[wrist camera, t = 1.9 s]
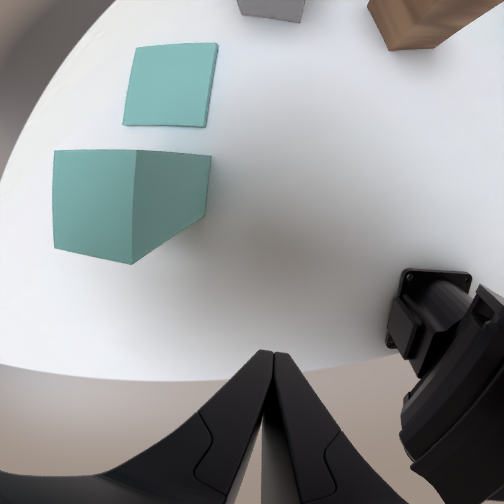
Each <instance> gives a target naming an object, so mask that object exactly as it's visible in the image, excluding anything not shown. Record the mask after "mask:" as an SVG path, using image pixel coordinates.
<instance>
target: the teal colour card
mask: <svg viewBox="0 0 504 504" xmlns="http://www.w3.org/2000/svg"><path fill="white" fill-rule="evenodd" d="M217 51H218V44H217V43H184V44H168V45H157V46H147V47H139V48H136V51H135V55H134V60H133V64H132V69H131V74H130V79H129V85H128V90H127V96H126V102H125V109H124V116H123V123H122V125H126V126H130V125H162V126H192V127H206V120H207V113H208V106H209V99H210V93H211V86H212V80H213V74H214V68H215V62H216V57H217Z"/></svg>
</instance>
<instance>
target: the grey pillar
mask: <svg viewBox="0 0 504 504" xmlns="http://www.w3.org/2000/svg"><path fill="white" fill-rule="evenodd" d="M237 3H238V6H239V8H240V11H241V14H242V15H248V16H257V17H265V18H272V19H278V20H284V21H290V22H295V23H300V20H301V16H302V12H303V7H304V3H305V0H237Z"/></svg>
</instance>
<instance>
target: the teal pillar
mask: <svg viewBox="0 0 504 504" xmlns="http://www.w3.org/2000/svg"><path fill="white" fill-rule="evenodd" d="M210 161H211V156H206V155H196V154H186V153H174V152H161V151H146V150H106V149H101V150H58V151H54V162H53V188H52V210H53V236H54V248H56V249H60V250H65V251H69V252H74V253H78V254H83V255H87V256H92V257H97V258H101V259H106V260H111V261H116V262H121V263H125V264H130V265H132V264H134V263H135V262H137V261H138V260H139V259H141V258H142V257H144V256H145V255H147V254H148V253H150V252H151V251H153V250H154V249H155V248H157V247H158V246H160V245H161V244H163V243H164V242H166V241H167V240H169V239H170V238H172V237H173V236H175V235H176V234H178V233H179V232H181V231H182V230H184V229H185V228H187V227H188V226H190V225H191V224H193V223H195V222H196V221H198V220H199V219H201V218H202V217H204V216H205V208H206V198H207V188H208V179H209V170H210Z"/></svg>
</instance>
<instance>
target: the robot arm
mask: <svg viewBox="0 0 504 504" xmlns="http://www.w3.org/2000/svg"><path fill="white" fill-rule="evenodd" d="M409 274H411V276H410V278H408V279H407V275H409ZM466 278H467V280H466V281H465V279H466ZM471 282H472V276H471V275H470V274H469V273H467V272H455V271H439V270H423V269H406V270H404V272H403V273H402V277H401V281H400V286H399V290H398V295H397V296H396V298H395V299H394V302H393V306H392V310H391V314H390V318H389V321H388V325H387V329H388V333H387V337H386V340H385V344H386V346H387V347H388V348H390V349H398V350H399V352H400V354H401V355H402V357H403V359H404V360H409V362H410V364H411V365H412V368H413V370H414V371H415V373H416V375H417V377H418V378H420V379H421V380H420V381H419V382H418V383H417V384H416V386H415V387H414V388H413V389H412V391H411V392H408V393H407V394H406V396H405V397H404V399H403V401H404V402H403V409H402V412H401V425H402V430H401V431H400V433H399V437H400V440H401V443H402V445H403V447H404V450H405V452H406V453H407V455H408V457H409V458H410V459H411V460H412V461H413V462H414V463H413V464H412V465H411V466H410V468H411V470H412V471H414V472H416V473H417V474H419V475H420V476H422V477H424V478H425V479H426V480H427V481H428V482H429V483H430V484H431V485H432V486H433V487H434V488H435V489H436V491H437V492H438V493H439V495H440V496H441V498H442V499H443V501H444V502H445V504H481V503H483V502H484V501H485V500H487V501H499V502H504V298H503V297H501V296H499V295H498V294H496V293H494V292H493V291H491V290H490V289H488V288H486V287H484V286H483V285H481V284H480V285H479V286H478V288H477V290H476V293H477V294H476V295H475V297H474V299H472V298H471V297H470V296H469V295H468V293H469V289H470V285H471ZM391 341H393V342H392V343H390V342H391ZM262 418H263V420H262ZM261 422H262V473H261V476H262V477H261V504H409V503H407V502H406V501H405V500H404V499H402V498H401V497H400V496H399V495H398V494H397V493H396V492H395V491H394V490H393V489H392V488H391V487H390V486H389V485H388V484H387V483H386V482H385V481H384V480H383V479H382V478H381V477H380V476H379V475H378V474H377V473H376V472H375V471H374V470H373V469H372V467H371V466H370V465H369V464H368V463H367V462H366V461H365V460H364V459H363V457H362V456H361V455H360V454H359V453H358V451H357V450H356V449H355V448H354V446H353V445H352V444H351V443H350V441H349V440H348V438H347V437H346V435H345V434H344V433H343V432H342V431H341V429H340V427H339V426H338V424H337V423H336V422H335V420H334V419H333V417H332V416H331V414H330V413H329V412H328V410H327V409H326V407H325V406H324V404H323V403H322V402H321V400H320V399H319V397H318V396H317V394H316V393H315V391H314V390H313V389H312V387H311V386H310V384H309V383H308V381H307V380H306V378H305V377H304V376H303V374H302V372H301V371H300V369H299V368H298V367H297V365H296V364H295V362H294V361H293V359H292V358H291V356H290V355H289V354H288V353H282V352H275V353H273V352H272V351H268V350H262V349H260V350H258V351H257V352H256V353H255V354H254V355H253V356H252V358H251V359H250V360H249V361H248V362H247V363H246V364H245V365H244V366H243V367H242V368H241V369H240V370H239V371H238V372H237V373H236V374H235V375H234V376H233V377H232V378H231V379H230V380H229V381H228V382H227V383H226V384H225V385H224V386H223V387H222V388H221V389H220V390H219V391H218V392H216V393H215V394H214V396H212V397H211V398H210V399H209V400H208V401H207V402H206V403H205V404H204V405H203V406H202V407H201V408H200V409H199V410H198V411H197V412H195V413H194V414H193V415H192V416H191V417H190V418H189V419H188V420H186V421H185V422H184V423H183V424H182V425H181V426H179V427H178V428H177V429H176V430H175V431H173V432H172V433H170V434H169V435H168V436H166V437H165V438H163V439H162V440H160V441H159V442H157V443H156V444H154V445H152V446H151V447H149V448H148V449H146V450H144V451H143V452H141V453H139V454H138V455H136V456H134V457H133V458H131V459H129V460H128V461H126V462H124V463H122V464H121V465H119V466H117V467H115V468H113V469H111V470H108V471H106V472H102V473H99V474H94V475H84V476H32V475H18V474H12V473H7V472H4V471H1V470H0V504H234V503H235V499H236V497H237V494H238V492H239V489H240V486H241V483H242V480H243V478H244V475H245V471H246V469H247V466H248V463H249V460H250V457H251V454H252V451H253V448H254V445H255V442H256V439H257V436H258V432H259V429H260V426H261Z"/></svg>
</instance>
